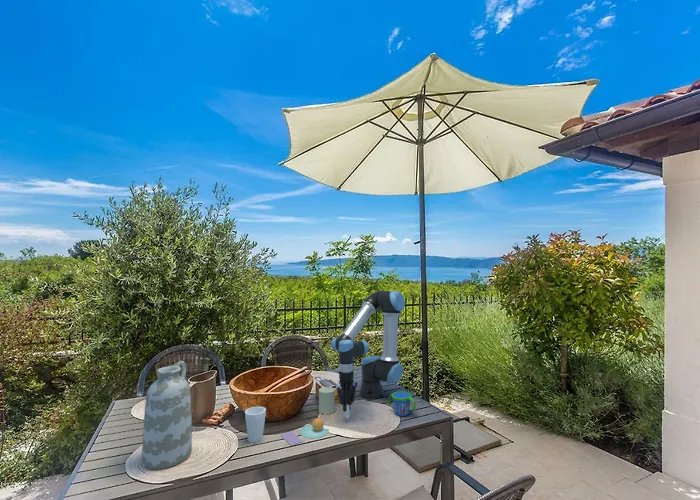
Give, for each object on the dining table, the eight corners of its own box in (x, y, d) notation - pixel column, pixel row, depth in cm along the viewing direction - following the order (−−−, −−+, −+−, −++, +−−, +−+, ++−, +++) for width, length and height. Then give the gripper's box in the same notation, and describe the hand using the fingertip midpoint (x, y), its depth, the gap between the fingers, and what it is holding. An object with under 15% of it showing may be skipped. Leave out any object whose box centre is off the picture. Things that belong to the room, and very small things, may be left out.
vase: (172, 472, 133) (174, 372, 135) (130, 468, 136) (132, 371, 138) (202, 445, 152) (204, 359, 155) (165, 442, 155) (167, 358, 158)
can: (336, 407, 193) (336, 386, 193) (333, 414, 183) (333, 392, 184) (320, 407, 193) (320, 385, 194) (317, 414, 184) (317, 391, 185)
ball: (322, 419, 170) (314, 414, 168) (327, 424, 166) (320, 418, 164) (315, 430, 168) (308, 425, 166) (321, 434, 164) (313, 429, 161)
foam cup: (246, 446, 151) (247, 416, 152) (243, 437, 160) (243, 409, 160) (268, 441, 156) (268, 412, 157) (263, 432, 164) (263, 405, 165)
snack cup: (384, 412, 185) (383, 393, 185) (395, 407, 193) (395, 388, 193) (408, 421, 174) (408, 401, 175) (419, 414, 182) (419, 395, 182)
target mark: (319, 422, 175) (319, 421, 175) (334, 432, 163) (334, 432, 163) (294, 429, 167) (294, 429, 167) (307, 441, 155) (307, 440, 155)
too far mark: (291, 431, 165) (291, 431, 165) (302, 441, 155) (302, 441, 155) (280, 435, 161) (280, 434, 161) (290, 445, 152) (290, 445, 152)
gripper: (339, 374, 170) (340, 423, 169) (360, 370, 177) (361, 416, 176) (331, 371, 176) (332, 417, 175) (352, 367, 184) (353, 411, 182)
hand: (346, 417), depth 176 cm, fingers closed
